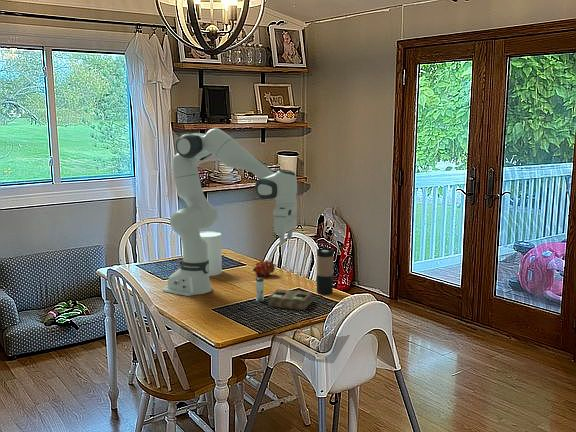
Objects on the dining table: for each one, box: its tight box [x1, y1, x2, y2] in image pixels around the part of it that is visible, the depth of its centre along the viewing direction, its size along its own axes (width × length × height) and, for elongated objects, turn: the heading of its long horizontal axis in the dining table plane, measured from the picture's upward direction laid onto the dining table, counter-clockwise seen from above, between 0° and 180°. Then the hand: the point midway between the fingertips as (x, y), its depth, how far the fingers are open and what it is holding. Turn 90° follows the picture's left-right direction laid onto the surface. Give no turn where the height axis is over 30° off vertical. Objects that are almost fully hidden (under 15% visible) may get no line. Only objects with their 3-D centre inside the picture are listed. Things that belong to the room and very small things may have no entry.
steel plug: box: [255, 276, 265, 303], centre depth 264 cm, size 3×3×10 cm
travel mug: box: [316, 247, 335, 296], centre depth 275 cm, size 8×8×20 cm
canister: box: [199, 231, 223, 277], centre depth 308 cm, size 14×14×20 cm
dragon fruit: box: [252, 259, 276, 277], centre depth 304 cm, size 8×8×12 cm
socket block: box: [267, 288, 313, 311], centre depth 260 cm, size 16×12×4 cm
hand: (286, 241), depth 256 cm, fingers open, 8 cm apart
